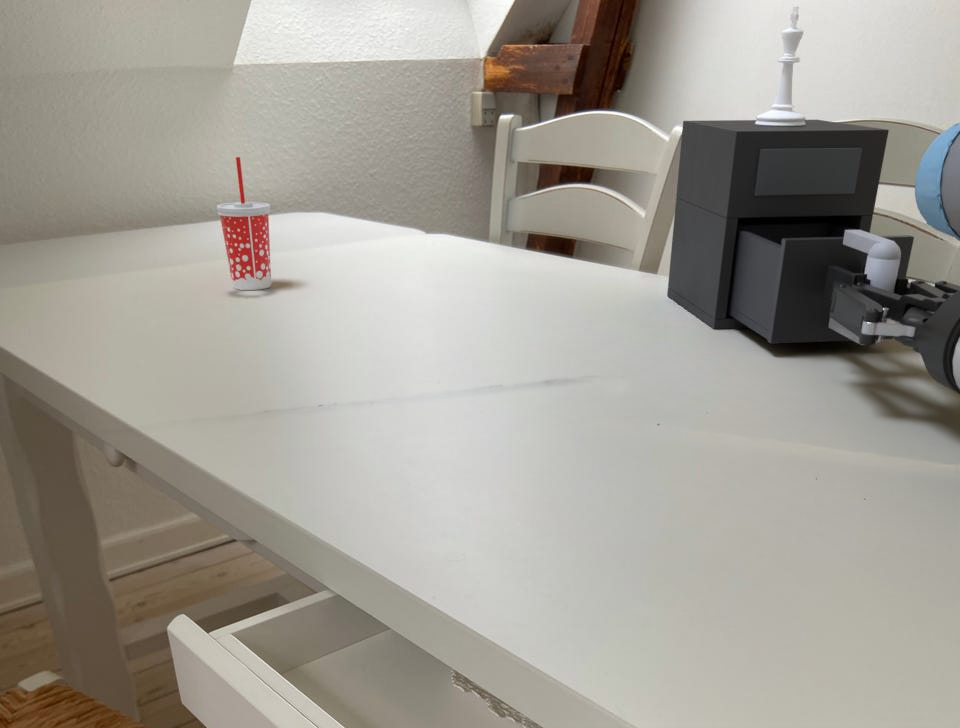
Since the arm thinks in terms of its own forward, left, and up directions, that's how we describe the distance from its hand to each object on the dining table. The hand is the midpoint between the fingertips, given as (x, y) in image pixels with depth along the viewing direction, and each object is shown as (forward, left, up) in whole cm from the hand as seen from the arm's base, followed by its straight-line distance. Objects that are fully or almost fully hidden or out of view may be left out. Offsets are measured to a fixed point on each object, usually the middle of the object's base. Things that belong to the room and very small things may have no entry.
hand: (847, 281), depth 89 cm
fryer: (+10, -17, -7) cm, 21 cm away
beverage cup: (+68, -7, -7) cm, 69 cm away
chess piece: (+10, -17, +11) cm, 23 cm away
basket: (+2, -4, -5) cm, 7 cm away
